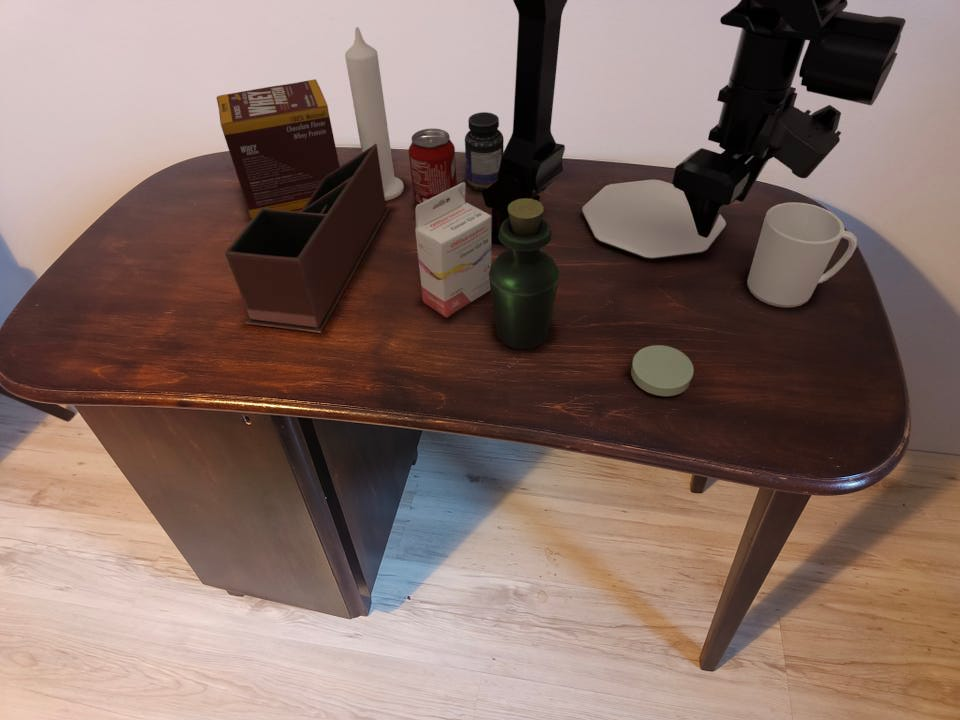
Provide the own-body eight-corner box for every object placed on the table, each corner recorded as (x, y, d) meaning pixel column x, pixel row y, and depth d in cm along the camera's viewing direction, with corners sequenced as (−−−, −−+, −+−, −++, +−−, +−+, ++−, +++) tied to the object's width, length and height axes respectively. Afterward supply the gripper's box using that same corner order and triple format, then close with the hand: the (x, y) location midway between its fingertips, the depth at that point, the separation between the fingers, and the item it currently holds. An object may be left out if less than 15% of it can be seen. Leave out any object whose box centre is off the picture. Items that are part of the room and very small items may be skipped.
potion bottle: (507, 364, 76) (508, 238, 63) (479, 322, 81) (474, 199, 68) (567, 343, 78) (579, 217, 65) (536, 304, 83) (541, 181, 71)
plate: (622, 177, 105) (623, 168, 104) (739, 213, 97) (741, 204, 96) (560, 234, 94) (561, 225, 93) (686, 280, 86) (689, 271, 85)
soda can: (453, 223, 97) (447, 150, 89) (410, 219, 98) (401, 146, 90) (462, 199, 102) (458, 128, 93) (421, 196, 103) (414, 125, 94)
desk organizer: (245, 325, 82) (217, 254, 74) (328, 203, 102) (313, 137, 94) (322, 335, 81) (301, 263, 72) (391, 209, 100) (381, 142, 92)
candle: (401, 201, 102) (379, 36, 84) (357, 202, 102) (326, 37, 84) (405, 178, 107) (385, 17, 89) (364, 179, 107) (335, 19, 89)
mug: (740, 302, 83) (763, 235, 75) (745, 262, 88) (767, 197, 81) (832, 320, 80) (865, 253, 72) (831, 278, 86) (861, 211, 78)
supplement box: (347, 199, 103) (328, 104, 92) (250, 219, 100) (218, 123, 88) (336, 169, 110) (316, 77, 99) (245, 187, 106) (214, 94, 95)
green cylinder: (623, 391, 73) (625, 378, 71) (637, 352, 77) (640, 338, 75) (683, 408, 71) (687, 395, 69) (694, 367, 75) (698, 354, 73)
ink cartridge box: (447, 320, 82) (438, 222, 71) (422, 302, 84) (410, 206, 74) (494, 289, 86) (492, 192, 75) (468, 273, 88) (463, 178, 78)
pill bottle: (472, 172, 108) (469, 108, 100) (507, 175, 107) (507, 111, 99) (462, 190, 104) (459, 126, 96) (499, 194, 103) (498, 129, 95)
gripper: (809, 139, 53) (756, 285, 64) (878, 67, 63) (822, 205, 74) (686, 104, 58) (657, 246, 69) (768, 43, 68) (731, 175, 79)
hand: (721, 217), depth 73 cm, fingers open, 9 cm apart
